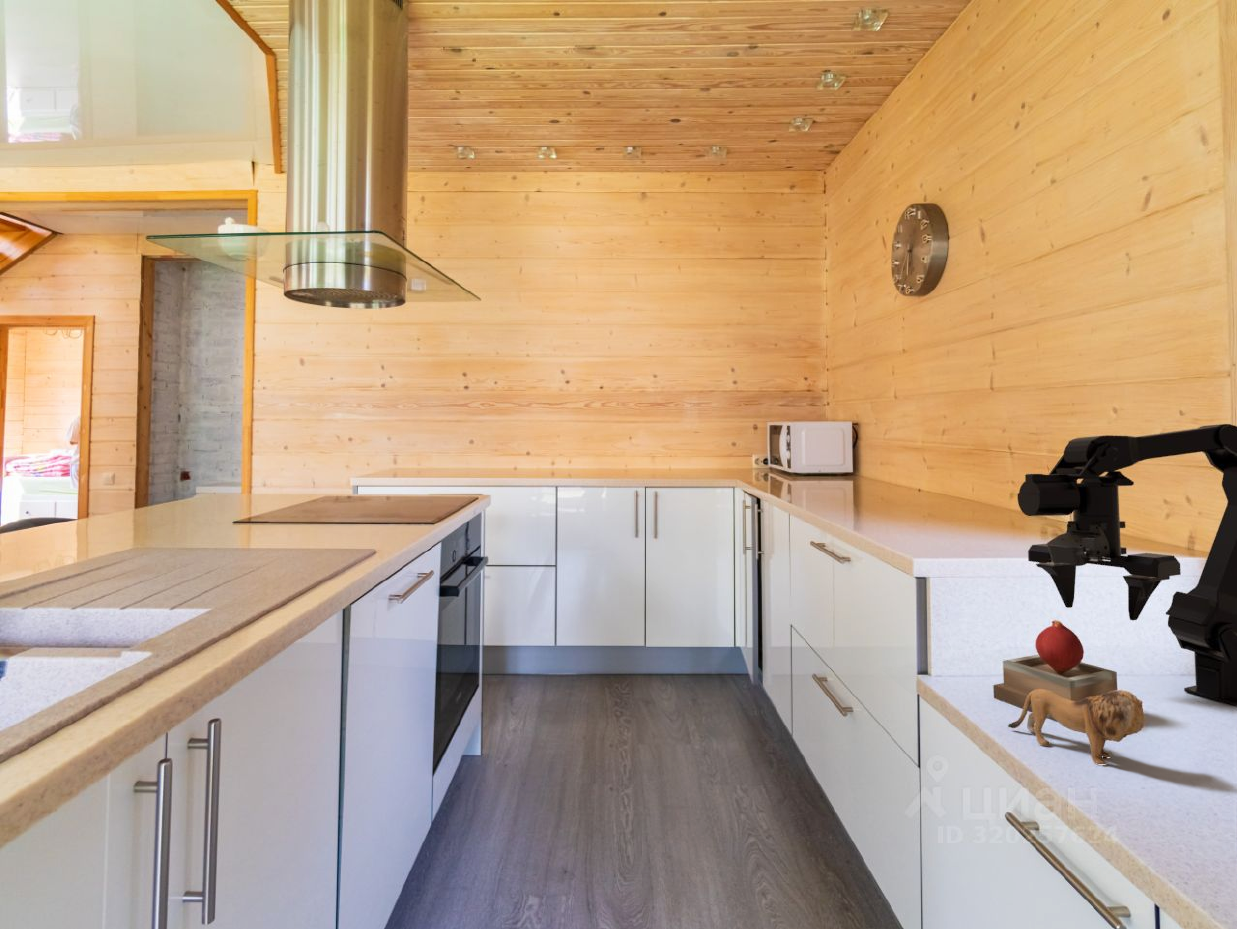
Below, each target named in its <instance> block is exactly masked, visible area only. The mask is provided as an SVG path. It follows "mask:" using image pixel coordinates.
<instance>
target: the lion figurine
mask: <svg viewBox="0 0 1237 929" xmlns="http://www.w3.org/2000/svg"><path fill="white" fill-rule="evenodd" d="M1142 700H1143V699H1140V698H1138V697H1137V695H1134V694H1133V693H1132V692H1129V691H1127V690H1124V689H1123V690H1122V689H1117V690H1113V691H1110V692H1108V693H1106V694H1102V695H1101V696H1094V697H1087V698H1085V699H1083V700H1081V701H1071V700H1068V699H1065V698H1063V697H1060V696H1059V695H1057V694H1055V693H1054V692H1052V691H1049V690H1043V689H1036V690H1033V691H1032V692H1030V693H1029V695H1028V696H1027V698H1026V701H1025V704H1024V707H1023V709H1022V711H1021V714H1020V717H1019V718H1018V719H1017V720H1016V721H1014V722H1011V723H1009V724H1008V725H1007V727H1008V728H1012V729H1016V728H1018V727H1019V726H1020V725H1022V723H1023V721H1024V720H1025V718H1026V716H1027V714H1028V712H1029V711H1028V709H1029V707H1030V704H1031V706H1032V711H1033V712H1030V713H1029V714H1028V718H1027V724H1026V728H1027V730H1028V731H1029V732H1030V733H1033V734H1034V735H1035V737H1036V741H1037V743H1038V744H1039V745H1041V746H1043V747H1049V746H1050V741H1049V740H1047V739H1045V738H1044V736H1043V732H1042V730H1043V726H1044V724H1045V722H1046V719H1048V718H1047V717H1049V716H1052V717H1054V718H1055V719H1056V720H1057V721H1058V722H1057V721H1056V722H1057V723H1059V724H1060V725H1061V726H1063V727H1065V728H1066V729H1068V730H1070V731H1073V732H1077V733H1082V734H1086V736H1087V738H1088V742H1089V746H1090V751H1091V752H1090V753H1091V754H1090V755H1091V759H1092V761H1093V762H1094V764H1096V763H1097V764H1106V763H1107V761H1106V760H1105V759H1104V758H1102V756H1103V757H1110V758H1111V757H1112V756H1111V754H1110V753H1109V752H1108V751H1105V750H1104V747H1105V745H1106V742H1107V741H1110V742H1111V741H1113V742H1117V743H1119V742H1121V741H1122V740H1123V739H1124V738H1126V737H1127V736H1130V735H1133V734H1138V733H1139V732H1140V731H1142V729H1143V728H1144V726H1145V725H1146V716H1145V712H1144V708H1143V701H1142ZM1097 764H1096V765H1097ZM1107 764H1108V763H1107ZM1107 764H1106V765H1107Z"/></svg>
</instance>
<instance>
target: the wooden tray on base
mask: <svg viewBox="0 0 1237 929" xmlns="http://www.w3.org/2000/svg"><path fill="white" fill-rule="evenodd" d="M1002 667H1003V668H1002V671H1003V673H1002V674H1003V683H998V684H996V683H995V684H993V686H992V687H993V689H992V690H993V698H994V699H996V700H999V701H1002V702H1004V703H1007V704H1010V705H1013V706H1015V707H1017V708H1019V709H1022V710H1023V707H1024V704H1025V701H1026V698H1027V696H1028V695H1029V693H1030V692H1032V691H1033V690H1036V689H1043V690H1049V691H1052V692H1054V693H1055V694H1057V695H1059V696H1060V697H1063V698H1065V699H1068V700H1071V701H1081V700H1083V699H1085V698H1087V697H1094V696H1101V695H1102V694H1106V693H1108V692H1110V691H1113V690H1117V691H1118V678H1117V677H1118V675H1117V674H1118V672H1117V671H1115V670H1112V669H1107V668H1105V667H1104V668H1103V667H1101V666H1097V665H1093V664H1089V663H1085V662H1082V661H1081V662H1080V663H1079V664H1078V665H1077V666H1076V667H1074V668H1072V669H1070V670H1068V671H1066V672H1064V673H1058V672H1056V671H1055V670H1054V669H1053V668H1052V667H1051V666H1049V665H1048V664H1047V663H1045V662H1044V661H1043V660H1042V659H1041V658H1040V656H1039V654H1038V653H1037V654H1034V655H1029V656H1021V657H1017V658H1011V659H1004V660H1003V661H1002ZM1028 712H1030V713H1032V712H1033V711H1032V706H1031V704H1030V707H1029V709H1028ZM1046 719H1049V720H1052V721H1054V720H1056V719H1055V718H1054V717H1052V716H1049V717H1047V718H1046ZM1055 722H1057V720H1056V721H1055Z"/></svg>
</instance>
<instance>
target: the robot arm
mask: <svg viewBox="0 0 1237 929" xmlns="http://www.w3.org/2000/svg"><path fill="white" fill-rule="evenodd" d="M1194 453H1203V454H1204V455H1205V457H1206V459H1207V460H1208V462H1209V464H1210V465H1211V467H1213V468H1215V469H1216V470H1217V471H1219V472H1221V473H1222V474H1223V475H1222V481H1221V487H1222V489H1223V492H1224V495H1225V498H1226V500H1227V502H1226V503H1227V504H1226V507H1225V510H1224V512H1223V514H1222V518H1221V521H1220V523H1219V526H1218V528H1217V532H1216V534H1215V536H1214V539H1213V541H1212V544H1211V547H1210V550H1209V553H1208V555H1207V558H1206V560H1205V564H1204V566H1203V569H1202V571H1201V574H1200V577H1199V579H1198V582H1197V584H1196V586H1195V587H1194V588H1192V589H1191V590H1190V591H1188V592H1187V593H1186V592H1182V591H1175V593H1174V594H1173V595H1172V601H1171V605H1170V606H1169V608H1168V610H1167V611H1166V612H1165V615H1167V616H1168V619H1167V626H1168V628H1170V631H1171V633H1172V634H1173V635H1174V637H1176V641H1177V642H1178V644H1179V647H1180V648H1181V649H1183V650H1187V651H1191V652H1194V653H1193V654H1194V671H1195V672H1194V674H1195V678H1194V679H1195V685H1191V686H1187V687H1184V688H1183V689H1184V690H1183V691H1184V692H1186V693H1189V694H1192V695H1196V696H1200V697H1202V698H1203V697H1204V698H1206V699H1211V700H1215V701H1218V702H1223V703H1226V704H1229V705H1232V706H1237V425H1234V424H1231V423H1222V424H1221V423H1220V424H1211V425H1202V426H1199V427H1197V428H1191V429H1189V428H1188V429H1184V430H1177V431H1169V432H1162V433H1154V434H1149V435H1148V434H1147V435H1140V436H1133V435H1132V436H1130V435H1110V434H1109V435H1108V434H1107V435H1106V434H1105V435H1096V436H1085V437H1082V436H1081V437H1076V438H1073V439H1071V440H1069V441H1068V443H1067V444H1066V445H1065V447H1064V451H1063V455H1062V456H1061V457H1060V459H1059V460H1058V461H1057V462H1056V464H1055V465H1054V467H1053V468H1052V470H1051V471H1050V472H1049V473H1048V474H1043V473H1026V474H1025V475H1024V476H1025V478H1024V479H1025V480H1024V481H1023V483H1022V484H1021V486H1020V488H1019V491H1018V493H1017V503H1018V507H1019V508H1020V511H1021V512H1022V514H1024V515H1026V516H1028V517H1047V516H1050V517H1054V516H1056V517H1057V516H1070V515H1071V514H1072V516H1073V517H1072V519H1073V520H1068V521H1067V524H1066V531H1065V533H1062V534H1059V535H1058V536H1056V537H1055V538H1052V539H1051V540H1049V541H1048V542H1046V543H1039V544H1032V545H1031V546H1030V548H1029V549H1028V550H1027V557H1028V558H1027V559H1028V560H1027V561H1028V562H1034V563H1035V566H1036V567H1037V568H1040V569H1042V570H1044V571H1045V572H1046V573H1047V574H1048V575H1049V576H1050V577H1051V579H1052V581H1053V583H1054V585H1055V587H1056V589H1057V591H1058V593H1059V595H1060V597H1061V600H1062V602H1063V604H1064V606H1065V608H1067V609H1070V608H1073V607H1074V606H1073V605H1074V602H1075V601H1074V600H1075V592H1076V591H1075V588H1076V574H1077V567H1080V566H1081V567H1082V566H1085V565H1087V564H1090V565H1098V566H1106V567H1114V568H1115V567H1116V568H1123V569H1124V570H1125V571H1126V572H1127V573H1129V575H1128V574H1127V575H1123V576H1122V577H1123V580H1124V581H1125V584H1126V585H1127V588H1128V589H1127V594H1128V595H1127V596H1128V597H1127V598H1128V601H1127V603H1128V604H1127V606H1128V616H1129V620H1130V621H1137V620H1138V619H1139V617H1140V615H1141V614H1142V611H1143V610H1144V609H1145V607H1146V604H1147V603H1148V600H1149V599H1150V597H1151V596H1152V594H1153V593H1154V591H1155V590H1156V588H1157V587H1158V586H1159V585H1160V583H1161V582H1162V581H1169V580H1170V578H1171V577H1173V576H1179V575H1180V576H1181V563H1180V562H1179V560H1178V559H1177V557H1175V556H1174V555H1171V554H1161V553H1160V554H1159V553H1151V552H1144V553H1133V554H1127V547H1123V546H1122V545H1121V544H1122V543H1121V529H1126V521H1124V520H1123V521H1122V520H1121V521H1120V517H1121V516H1120V500H1119V498H1120V497H1119V487H1130V486H1131V487H1132V486H1134V485H1135V482H1134V481H1133V480H1132V479H1130V478H1128V477H1127V476H1125V475H1124V474H1123V473H1122V471H1120V470H1121V469H1122V470H1123V469H1125V468H1128V467H1131V466H1134V465H1135V464H1137V463H1139V462H1143V461H1145V460H1150V459H1151V460H1152V459H1158V458H1166V457H1173V456H1179V455H1187V454H1194ZM1105 473H1106V474H1105ZM1103 474H1105V475H1103ZM1078 480H1081V481H1080V482H1078Z"/></svg>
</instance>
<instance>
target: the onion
mask: <svg viewBox="0 0 1237 929" xmlns="http://www.w3.org/2000/svg"><path fill="white" fill-rule="evenodd" d="M1035 651H1036V653H1037V655H1038V654H1039V656H1040V658H1041V659H1042V660H1043V661H1044V662H1045V663H1047V664H1048V665H1049V666H1051V667H1052V668H1053V669H1054V670H1055V671H1056V672H1058V673H1064V672H1066V671H1068V670H1070V669H1072V668H1074V667H1076V666H1077V665H1078V664H1079V663H1080V662H1082V660H1083V659H1084V653H1085V651H1084V646H1083V644H1082V642H1081V639H1080V638H1079V637H1078V636H1077V635H1076V634H1075V632H1073V631H1072V630H1071V629H1070V628H1068V627H1066V626H1065V625H1064V624H1063V623H1062V622H1061V621H1060V620H1057V619H1054V620H1052V621H1051V626H1048V627H1045V628H1044V629H1043V630H1042V631H1041V632H1039V633H1038V635H1037V636H1036V640H1035Z"/></svg>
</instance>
